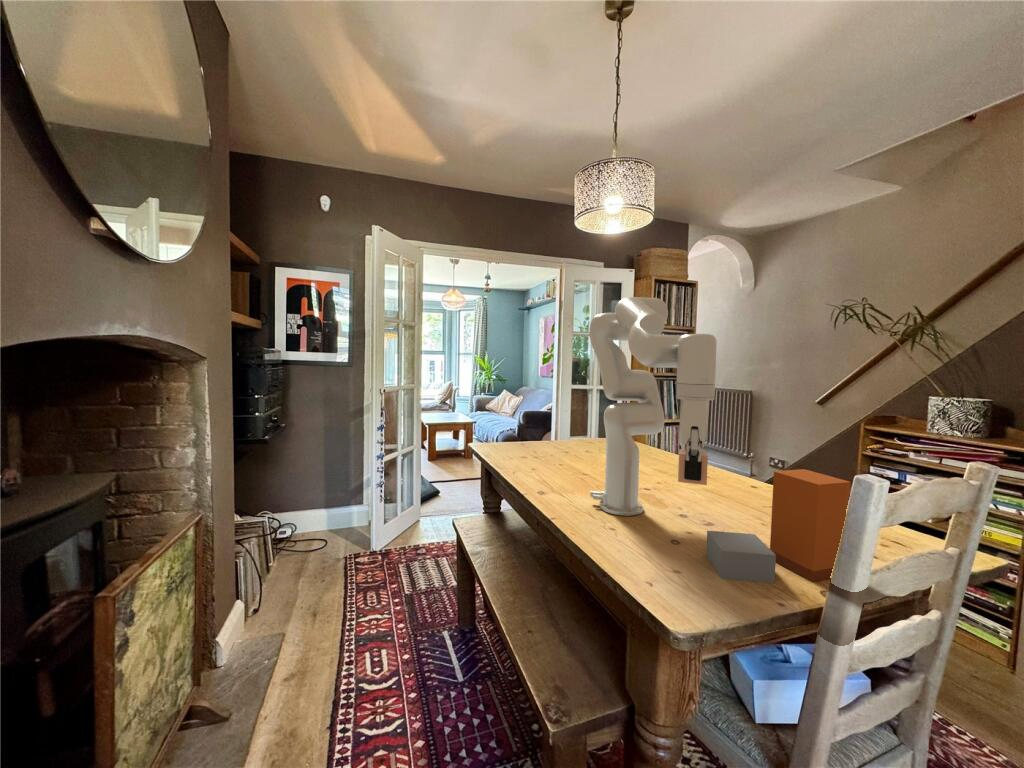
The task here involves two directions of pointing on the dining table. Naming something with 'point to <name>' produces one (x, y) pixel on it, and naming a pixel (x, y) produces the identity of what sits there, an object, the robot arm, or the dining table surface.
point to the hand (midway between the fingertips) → (692, 475)
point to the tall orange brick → (807, 521)
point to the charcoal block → (740, 556)
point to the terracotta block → (682, 468)
